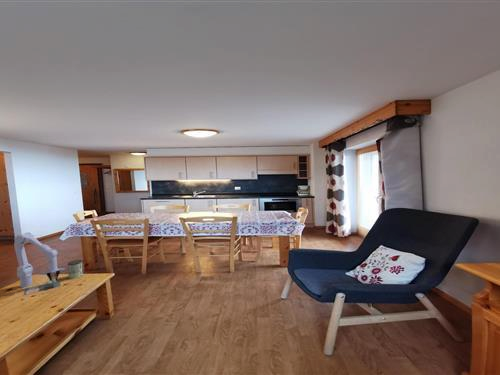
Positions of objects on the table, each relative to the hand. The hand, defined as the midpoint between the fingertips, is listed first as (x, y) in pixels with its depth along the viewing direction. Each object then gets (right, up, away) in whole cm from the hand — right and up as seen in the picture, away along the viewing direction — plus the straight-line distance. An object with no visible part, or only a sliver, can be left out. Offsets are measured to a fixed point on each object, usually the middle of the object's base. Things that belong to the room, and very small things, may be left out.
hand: (53, 280), depth 202 cm
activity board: (-3, -4, -7) cm, 8 cm away
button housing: (+3, -3, -8) cm, 9 cm away
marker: (0, -2, 0) cm, 2 cm away
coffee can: (+9, -2, +13) cm, 16 cm away
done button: (+3, +1, -8) cm, 9 cm away
